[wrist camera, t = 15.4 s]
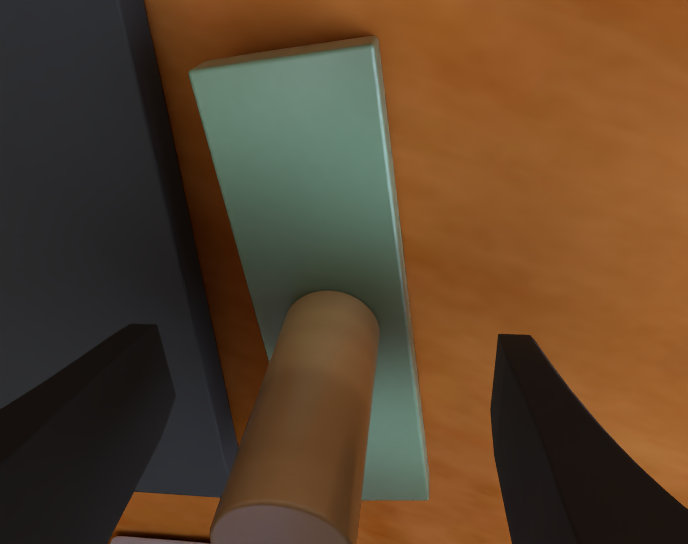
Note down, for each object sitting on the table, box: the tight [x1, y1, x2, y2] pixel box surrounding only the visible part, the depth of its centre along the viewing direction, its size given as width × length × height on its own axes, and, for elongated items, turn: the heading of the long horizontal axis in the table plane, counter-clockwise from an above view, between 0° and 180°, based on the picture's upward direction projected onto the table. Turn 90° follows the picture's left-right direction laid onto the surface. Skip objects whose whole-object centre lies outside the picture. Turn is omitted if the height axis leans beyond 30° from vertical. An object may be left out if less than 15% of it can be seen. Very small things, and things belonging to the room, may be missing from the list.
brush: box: [189, 36, 429, 544], centre depth 12 cm, size 12×4×8 cm, turn 9°
